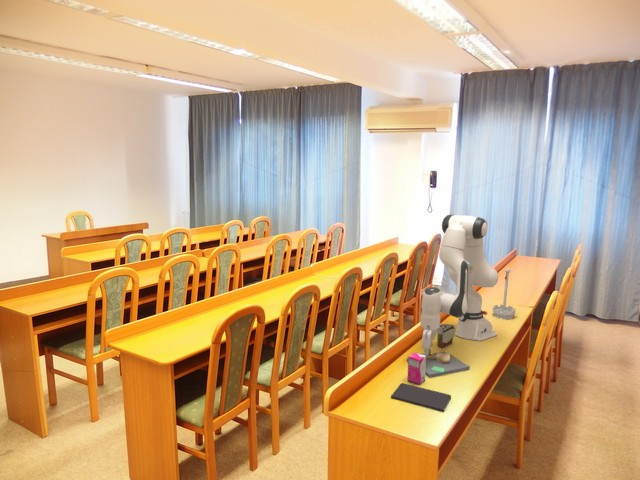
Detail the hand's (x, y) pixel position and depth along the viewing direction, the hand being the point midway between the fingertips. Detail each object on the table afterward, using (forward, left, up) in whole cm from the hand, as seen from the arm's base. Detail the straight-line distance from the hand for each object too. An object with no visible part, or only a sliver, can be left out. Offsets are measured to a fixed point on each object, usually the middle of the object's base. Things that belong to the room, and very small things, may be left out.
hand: (428, 350), depth 226 cm
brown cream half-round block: (-19, -14, -6) cm, 24 cm away
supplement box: (+16, +14, -6) cm, 22 cm away
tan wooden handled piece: (-2, +2, -4) cm, 5 cm away
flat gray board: (-2, +5, -6) cm, 8 cm away
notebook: (+23, +27, -6) cm, 36 cm away
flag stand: (-81, -36, -6) cm, 89 cm away
